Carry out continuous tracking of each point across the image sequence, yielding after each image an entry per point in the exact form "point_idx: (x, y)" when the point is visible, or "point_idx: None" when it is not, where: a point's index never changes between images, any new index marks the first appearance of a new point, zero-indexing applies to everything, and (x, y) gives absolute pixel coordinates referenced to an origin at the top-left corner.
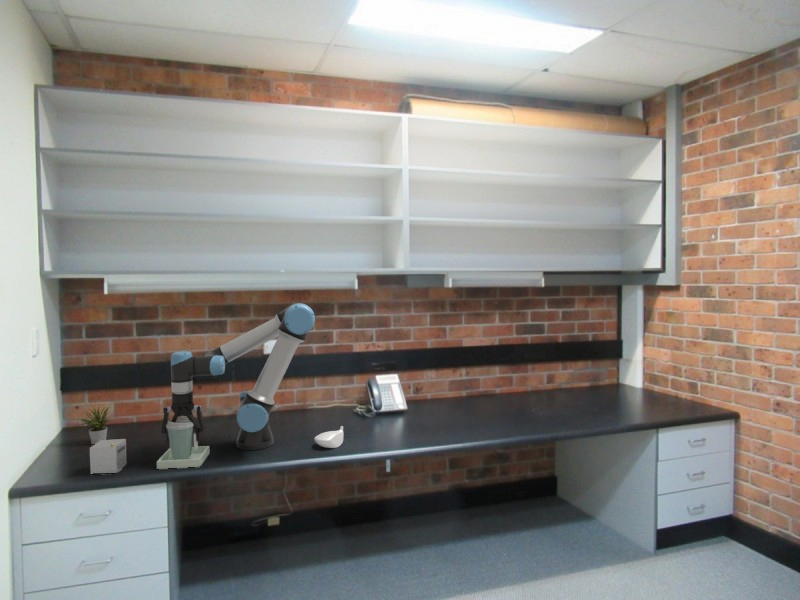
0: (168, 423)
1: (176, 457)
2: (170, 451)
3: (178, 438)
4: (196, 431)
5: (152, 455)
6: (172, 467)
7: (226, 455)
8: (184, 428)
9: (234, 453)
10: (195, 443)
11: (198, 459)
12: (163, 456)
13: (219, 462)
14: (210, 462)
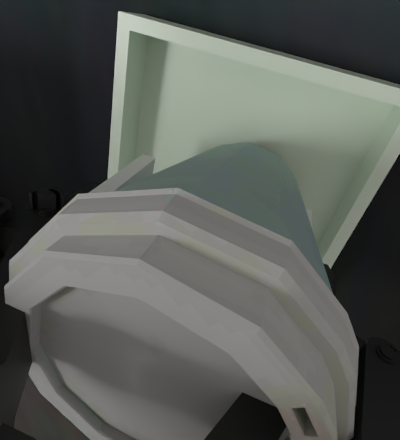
0: (332, 403)
1: (273, 153)
2: (307, 210)
3: (227, 175)
4: (49, 213)
5: (382, 334)
6: (310, 60)
7: (44, 159)
8: (106, 197)
9: (17, 170)
10: (122, 171)
11: (127, 14)
12: (356, 198)
13: (53, 61)
14: (98, 84)
